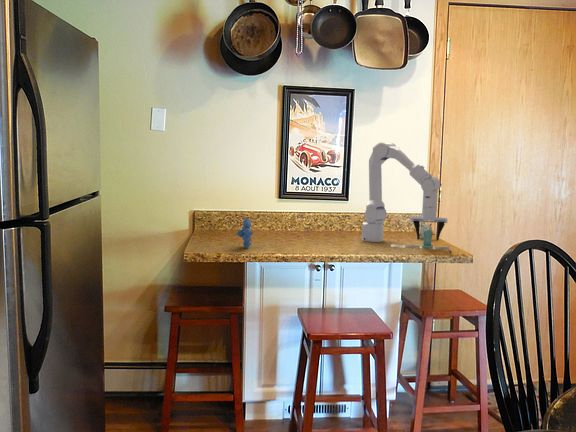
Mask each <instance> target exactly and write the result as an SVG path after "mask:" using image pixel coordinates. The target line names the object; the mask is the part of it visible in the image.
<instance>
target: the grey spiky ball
mask: <svg viewBox="0 0 576 432" xmlns="http://www.w3.org/2000/svg"><path fill="white" fill-rule="evenodd" d="M427 229H429V230H431V231H432V236H435V235H436V234H435V233H434V232H433V228H432V223H430V224H425V223H423V222H420V227H419V239H418V240H424V235H423V233H424V231H425V230H427ZM413 231H415V233H416V234H417V232H416V229H415V228H413Z"/></svg>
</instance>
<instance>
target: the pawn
mask: <svg viewBox="0 0 576 432" xmlns="http://www.w3.org/2000/svg"><path fill="white" fill-rule="evenodd" d="M432 231H433V230H432ZM432 231H431V230H429V229H427V230H425V231H424V233H423V235H424V239H423V241H422V242H423V244H421V245H420V246H421V247H422V248H427V249H426V250H432V249H431V248H433V247H434V244H432V237H433V235H432Z"/></svg>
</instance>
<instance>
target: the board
mask: <svg viewBox="0 0 576 432" xmlns="http://www.w3.org/2000/svg"><path fill="white" fill-rule="evenodd" d="M421 246H422V245H409V244H390V247H391V248H400V249H401V248H403V249H404V248H406V249H423V250H424V249H425V250H428V249H427V248H422V247H421ZM430 250H442V251H448V252H449V254H452V250H451V248H450V247H449V246H433V248H431V249H430Z"/></svg>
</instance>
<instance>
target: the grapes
mask: <svg viewBox="0 0 576 432" xmlns="http://www.w3.org/2000/svg"><path fill="white" fill-rule="evenodd" d="M242 222H243V223H242V225H243V226H242V228H241V229H238V230H237V232H236V235H237V236H238V237H239V238H241V239H242V240H243V243H242V245H243V247H244V248H246V249H249V248H250V246H251V245H252V243H251V241H252V238H251V237H252V235H253V234H254V232H253V231H252V230H251V226H252V221H251V220H250V218H248V217H247V218H245V219H244V220H243V221H242Z"/></svg>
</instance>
